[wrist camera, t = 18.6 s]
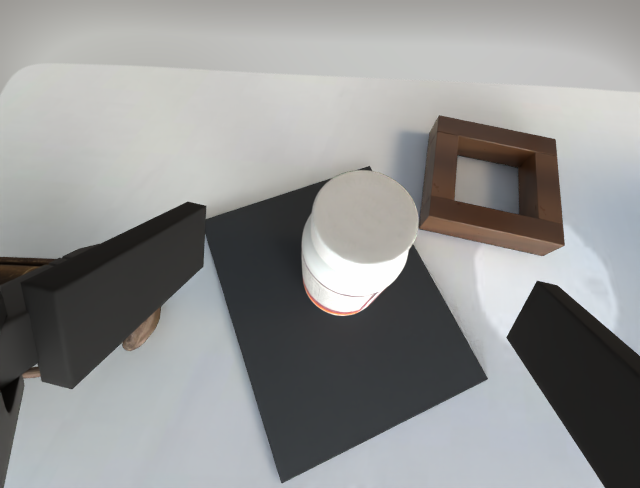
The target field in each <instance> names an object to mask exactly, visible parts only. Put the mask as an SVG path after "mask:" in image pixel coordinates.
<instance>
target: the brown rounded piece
mask: <svg viewBox="0 0 640 488" xmlns="http://www.w3.org/2000/svg"><path fill="white" fill-rule="evenodd" d="M54 260H56V259H43V258H17V257H0V285H2V284H4V283H6V282H9V281H11V280H13V279H15V278H17V277H19V276H21V275H24V274H26V273H28V272H30V271H32V270H34V269H37V268H39V267H41V266H43V265H45V264H46V265H48V264H49V263H50V262H52V261H54ZM160 311H161V306H160V307H159V308H158V309H157V310H156V311H155V312H154V313H153V314H152V315H151V316H150V317H149V318H148V319H147V320H146V321H144V322H143V323H142V324H141V325H140V326H139V327H138V328H137V329H136V330H135V331H134V332H133V333H132V334H131V335H129V336H128V337H127V338H126V339H125V340H124V341H123V345H122V346H123V348H124V349H125V350H128V351H132V350H134V349H136V348H138V347H140V346H141V345H142V344H143V343H144V342H145V341H146V340H147V339H148V337H149V336H150V335H151V333H152V332H153V331H154V330H155V328H156V326H157V324H158V321H159V319H160ZM22 375H23V378H35V377H40V371H39V367H31V368H30V369H28V370H27V371H26V372H25V373H23V374H22Z"/></svg>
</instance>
